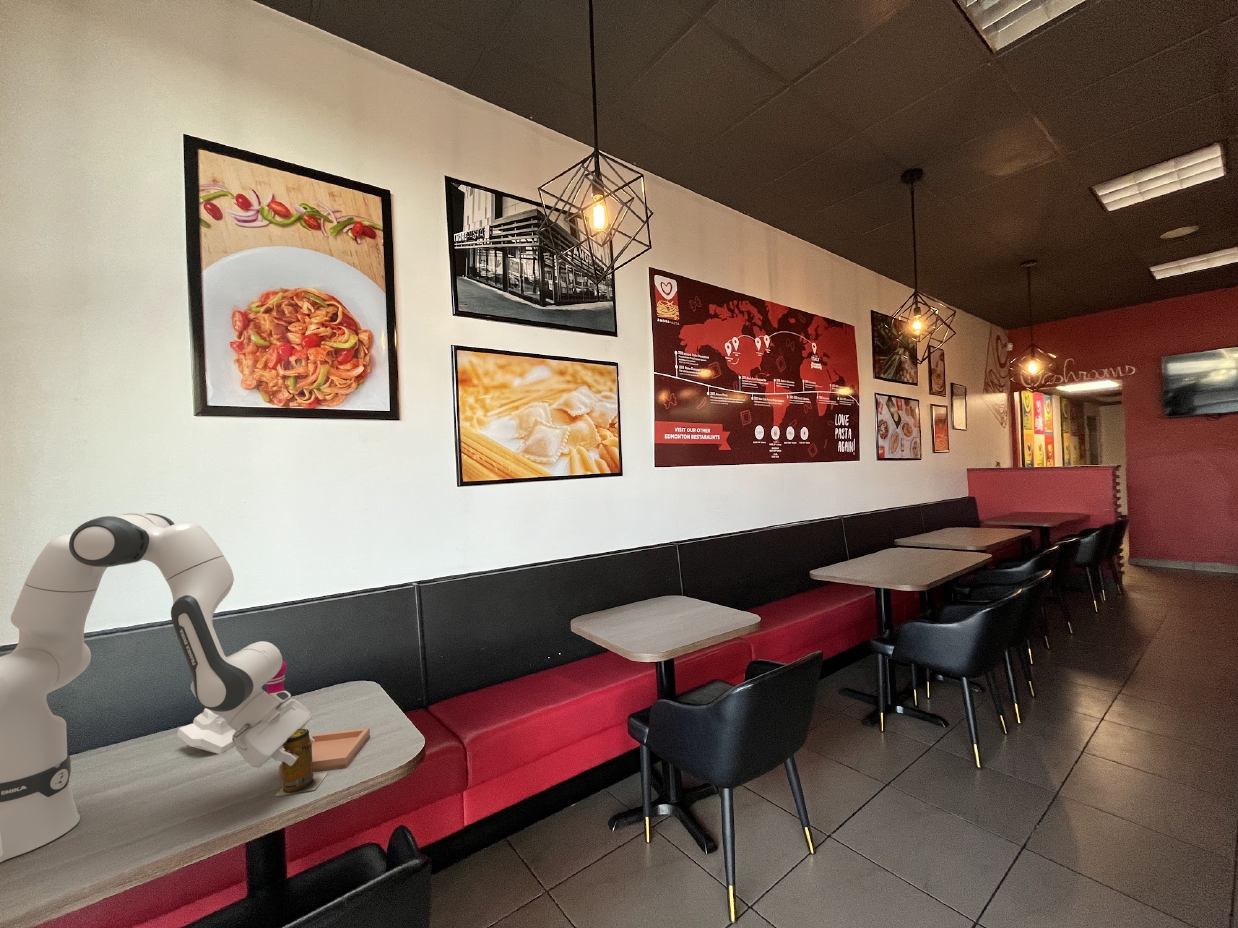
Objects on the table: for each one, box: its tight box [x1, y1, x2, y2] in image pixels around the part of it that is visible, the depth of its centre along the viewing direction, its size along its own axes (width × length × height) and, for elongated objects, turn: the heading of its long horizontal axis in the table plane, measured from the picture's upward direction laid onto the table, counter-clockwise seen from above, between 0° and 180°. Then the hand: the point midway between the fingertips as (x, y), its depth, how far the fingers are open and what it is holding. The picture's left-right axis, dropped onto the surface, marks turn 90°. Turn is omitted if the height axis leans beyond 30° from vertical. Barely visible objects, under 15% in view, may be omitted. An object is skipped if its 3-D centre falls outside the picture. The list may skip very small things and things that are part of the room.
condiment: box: [274, 728, 328, 797], centre depth 118 cm, size 7×8×12 cm
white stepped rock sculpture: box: [176, 707, 236, 755], centre depth 141 cm, size 12×15×14 cm
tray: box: [278, 727, 371, 777], centre depth 131 cm, size 15×15×2 cm
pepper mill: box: [265, 660, 287, 694], centre depth 154 cm, size 7×7×20 cm
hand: (303, 752), depth 118 cm, fingers open, 6 cm apart
